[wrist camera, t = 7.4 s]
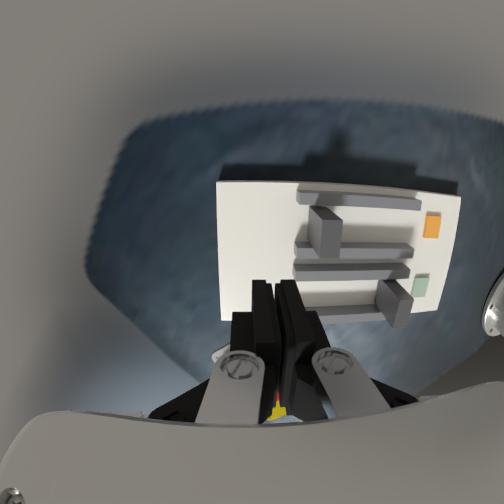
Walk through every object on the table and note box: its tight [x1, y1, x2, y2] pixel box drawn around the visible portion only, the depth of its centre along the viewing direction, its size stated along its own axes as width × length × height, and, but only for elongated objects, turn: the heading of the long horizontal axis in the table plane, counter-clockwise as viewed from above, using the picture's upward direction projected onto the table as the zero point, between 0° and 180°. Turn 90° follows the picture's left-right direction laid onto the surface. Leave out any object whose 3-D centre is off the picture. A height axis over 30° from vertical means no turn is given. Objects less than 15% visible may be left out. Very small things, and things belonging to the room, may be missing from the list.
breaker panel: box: [216, 180, 461, 324], centre depth 27 cm, size 26×14×3 cm, turn 90°
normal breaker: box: [374, 279, 414, 328], centre depth 26 cm, size 2×3×5 cm, turn 179°
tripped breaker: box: [307, 206, 343, 259], centre depth 23 cm, size 2×3×5 cm, turn 0°
